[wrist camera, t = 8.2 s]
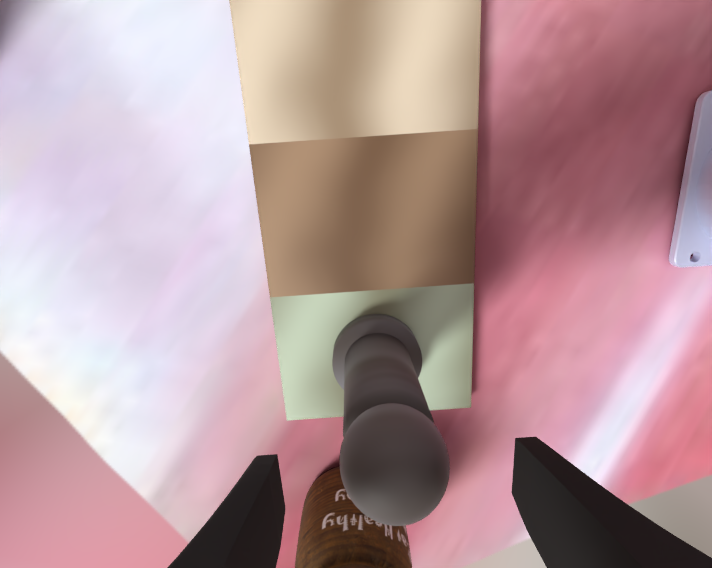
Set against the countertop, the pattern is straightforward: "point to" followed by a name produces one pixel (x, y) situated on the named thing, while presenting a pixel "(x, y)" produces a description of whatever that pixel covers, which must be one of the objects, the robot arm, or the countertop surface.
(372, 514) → the pawn
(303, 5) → the board
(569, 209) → the countertop surface
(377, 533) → the utensil holder
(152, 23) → the countertop surface
